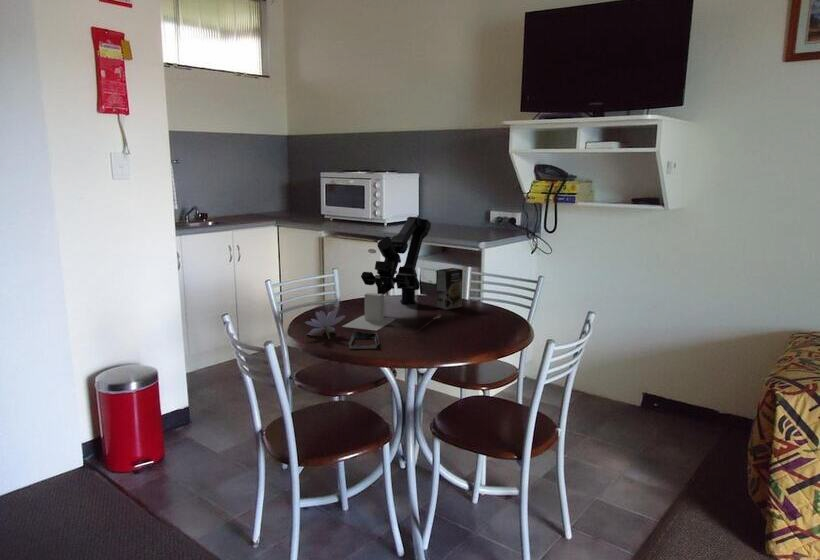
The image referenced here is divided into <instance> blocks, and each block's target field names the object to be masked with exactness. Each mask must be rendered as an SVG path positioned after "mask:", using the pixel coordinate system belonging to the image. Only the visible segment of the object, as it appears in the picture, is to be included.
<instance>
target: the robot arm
mask: <svg viewBox="0 0 820 560" xmlns="http://www.w3.org/2000/svg"><path fill="white" fill-rule="evenodd" d="M431 227H432V223H431V222H430V221H429V219H424V218H420V217H418V216H409V217H407V218H406V221H405V223H404V225H403V226H402V228H401V229H400V230H399V232H398V234H396V235H393V236H392V237H391V236H384V238H382V239H380V240H379V241H378V243H377V248H378V250H379V252H380V254H381V255H382V257H383V259H384V260H383V261H380V260H376V261H375V265H374V266H375V267H374V270H375V271H377V272H376V275H374V273H373V272H371V271H362V273H361V276H360V278H361V279H362V281H363V283H364V285H366V286H375V285H376V288H377V290H376V291H377V294H383V296H385V295H386V294H387V293H388V292H389V291H391V290H393V289H395V284H396V288H397V289H398V290H399V289H401V299H399V301H400V303H401V305H415V304H417V300H416V291H417V290H420V287H421V286H420V285H421V283H420V282H419V279H418V273H417V270H416V268H417V267H416V266H417V264H418V259H419V255H420V251H421V247H422V244H423V241H424V239H425V238H426V237H427V236H428V235H429V232H430V230H431ZM410 238H411V240H410ZM409 240H410V243H408V242H409ZM408 247H409V248H408ZM406 252H407V255H406V259H405V262H404V265H403V266H399V264H400V263H402V259H401V255H400V254H405V253H406ZM398 266H399V268H398ZM397 268H398V270H397Z"/></svg>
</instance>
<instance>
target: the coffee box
mask: <svg viewBox="0 0 820 560" xmlns="http://www.w3.org/2000/svg"><path fill="white" fill-rule="evenodd" d="M463 270H464V269H462V268H454V267H450V268H448V267H447V268H442V269H440V268H439V269H437V281H436V282H437V283H436V284H437V285H436V289H437V290H436V308H439V309H442V310H446V311H447V310H452V308H453V309H457V308H462V307H463V279H464V278H463V276H464V275H463V272H464V271H463Z"/></svg>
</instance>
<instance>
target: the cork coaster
mask: <svg viewBox="0 0 820 560" xmlns="http://www.w3.org/2000/svg"><path fill="white" fill-rule="evenodd" d="M436 318H437V319H439V318H442V315H441V314H440V313H438V314H437V315H436V316H434V317H433V318H432V319H433V320H436Z"/></svg>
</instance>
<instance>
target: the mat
mask: <svg viewBox="0 0 820 560" xmlns="http://www.w3.org/2000/svg"><path fill="white" fill-rule="evenodd" d="M395 320H396V318H392V317H384V320H382V321H381V322H378V321H369V320H365V314H363V315H360V316H359V317H357V318H355V319H353V320H352V321H349V322H348V323H346V324H343V325H342V326H341V328H342V327H343V328H349V329H350V328H352V329H358V330H368V331H376V332H377V331H378V330H380V329H382V328H384V327H385V326H387V325H388V324H390V323H392V322H394V321H395Z"/></svg>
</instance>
